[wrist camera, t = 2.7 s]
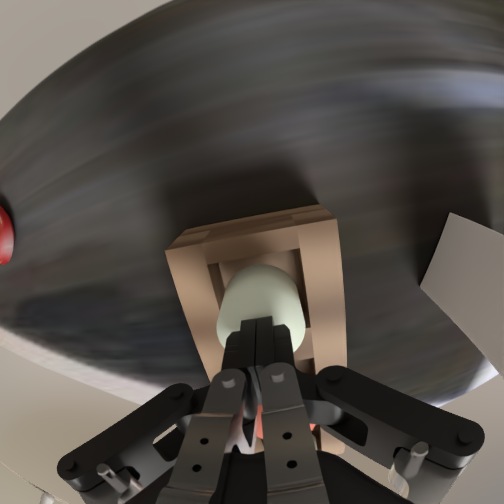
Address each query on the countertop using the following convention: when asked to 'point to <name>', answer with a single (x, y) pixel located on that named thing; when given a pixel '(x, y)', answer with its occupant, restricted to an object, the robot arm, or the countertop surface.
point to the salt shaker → (46, 498)
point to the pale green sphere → (261, 301)
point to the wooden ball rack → (276, 254)
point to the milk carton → (471, 283)
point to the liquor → (6, 237)
